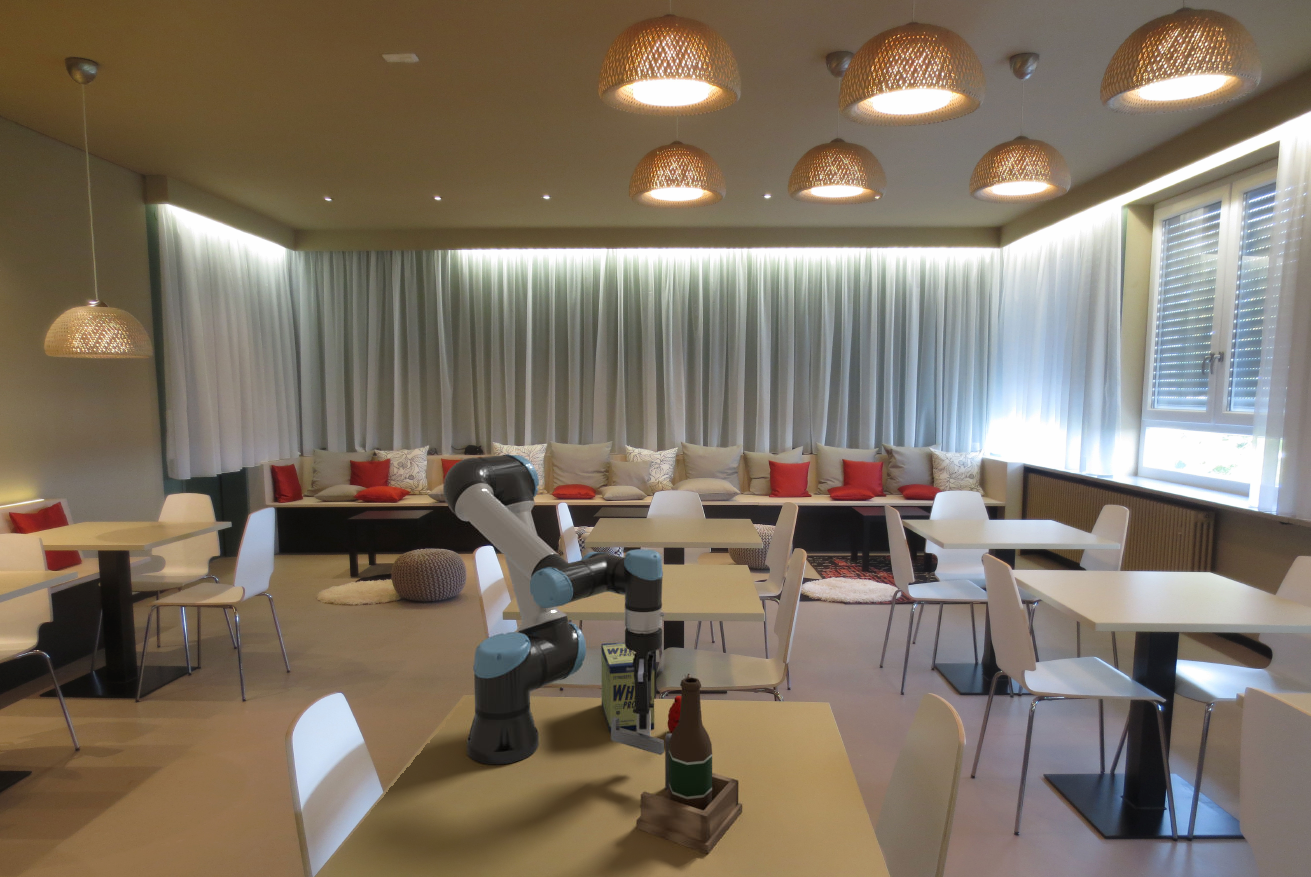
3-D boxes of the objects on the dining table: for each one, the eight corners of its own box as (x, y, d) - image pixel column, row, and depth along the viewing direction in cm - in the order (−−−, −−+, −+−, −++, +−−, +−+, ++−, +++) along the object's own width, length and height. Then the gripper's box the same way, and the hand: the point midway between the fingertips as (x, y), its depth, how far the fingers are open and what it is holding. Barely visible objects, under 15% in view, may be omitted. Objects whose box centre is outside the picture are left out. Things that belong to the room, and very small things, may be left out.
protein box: (609, 734, 161) (609, 666, 160) (600, 704, 176) (600, 642, 175) (655, 729, 163) (655, 662, 162) (642, 701, 178) (642, 639, 177)
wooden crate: (626, 824, 127) (626, 767, 126) (668, 785, 140) (668, 732, 139) (708, 854, 119) (708, 792, 118) (744, 809, 131) (744, 753, 131)
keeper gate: (611, 740, 144) (611, 718, 144) (614, 738, 145) (614, 716, 145) (660, 755, 138) (660, 732, 138) (663, 752, 139) (663, 729, 139)
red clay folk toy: (698, 726, 164) (698, 662, 163) (704, 741, 157) (705, 674, 156) (665, 728, 163) (665, 664, 162) (670, 743, 156) (670, 676, 155)
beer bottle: (709, 826, 124) (709, 690, 122) (664, 821, 125) (665, 687, 124) (714, 801, 131) (715, 673, 130) (672, 797, 133) (673, 670, 131)
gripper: (659, 639, 138) (659, 758, 139) (664, 618, 151) (664, 727, 152) (620, 638, 138) (620, 756, 140) (629, 617, 151) (629, 726, 153)
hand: (643, 741), depth 146 cm, fingers closed
